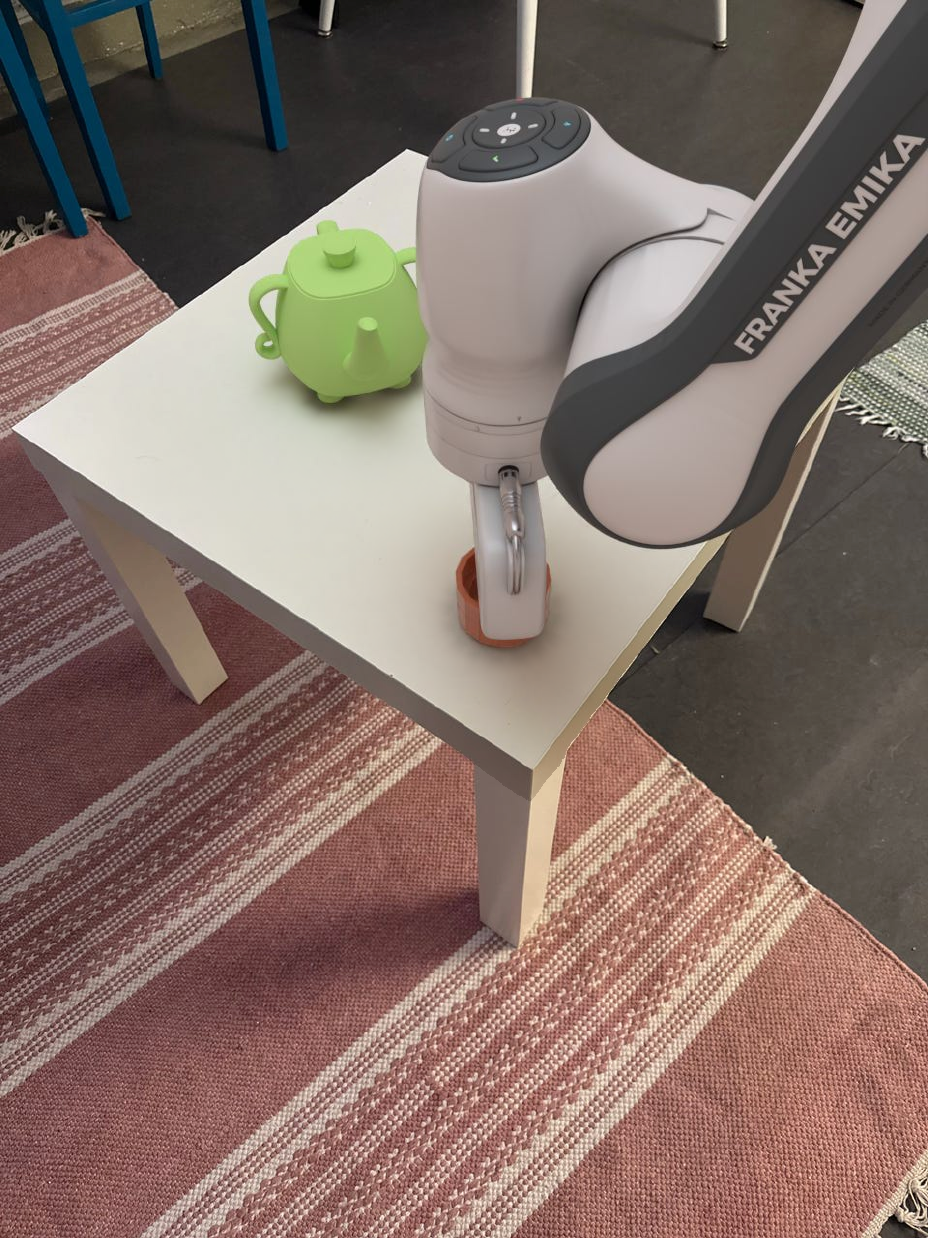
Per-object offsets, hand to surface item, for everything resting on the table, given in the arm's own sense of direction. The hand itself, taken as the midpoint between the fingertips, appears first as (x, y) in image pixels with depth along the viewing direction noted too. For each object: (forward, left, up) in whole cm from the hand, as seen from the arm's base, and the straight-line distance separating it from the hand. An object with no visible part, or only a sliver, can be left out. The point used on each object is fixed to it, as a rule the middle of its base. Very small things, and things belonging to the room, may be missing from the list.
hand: (498, 561), depth 63 cm
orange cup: (0, 0, -6) cm, 6 cm away
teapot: (+11, -28, -7) cm, 31 cm away
